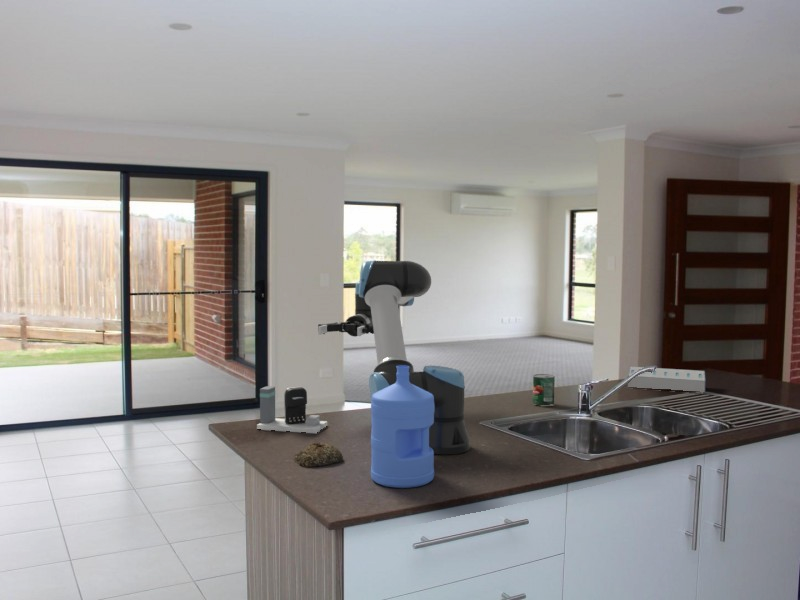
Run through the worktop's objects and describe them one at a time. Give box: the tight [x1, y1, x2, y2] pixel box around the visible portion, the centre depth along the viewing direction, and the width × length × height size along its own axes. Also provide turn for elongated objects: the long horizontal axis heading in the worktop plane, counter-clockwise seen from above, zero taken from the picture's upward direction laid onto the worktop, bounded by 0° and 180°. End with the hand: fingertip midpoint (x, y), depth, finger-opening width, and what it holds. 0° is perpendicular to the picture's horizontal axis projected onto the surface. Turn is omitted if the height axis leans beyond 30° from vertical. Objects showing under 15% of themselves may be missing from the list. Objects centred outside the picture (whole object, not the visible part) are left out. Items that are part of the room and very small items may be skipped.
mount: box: [256, 385, 328, 434], centre depth 221 cm, size 10×20×12 cm, turn 76°
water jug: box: [370, 365, 435, 489], centre depth 170 cm, size 16×16×28 cm
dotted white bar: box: [627, 365, 706, 393], centre depth 292 cm, size 30×14×8 cm, turn 68°
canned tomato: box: [532, 373, 556, 405], centre depth 257 cm, size 8×8×11 cm
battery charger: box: [283, 386, 308, 424], centre depth 220 cm, size 7×4×11 cm, turn 117°
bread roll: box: [293, 441, 344, 468], centre depth 186 cm, size 13×12×5 cm
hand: (338, 331), depth 230 cm, fingers open, 13 cm apart
